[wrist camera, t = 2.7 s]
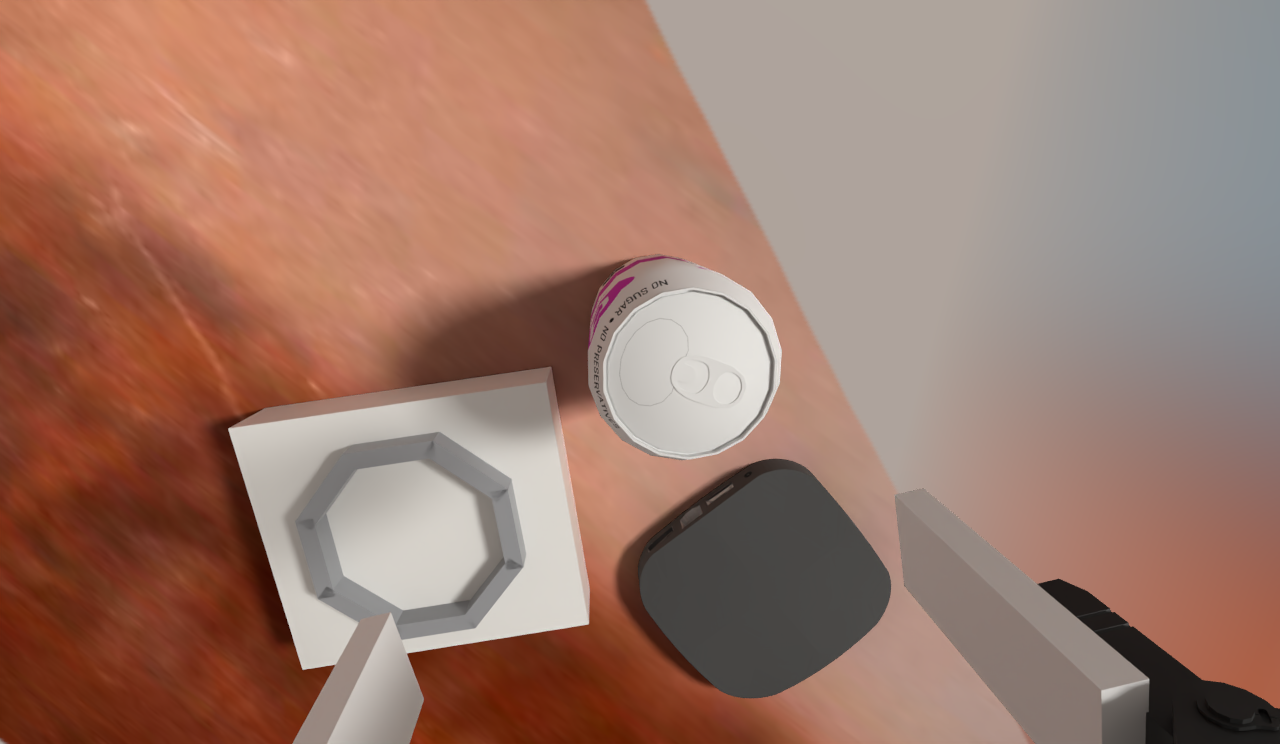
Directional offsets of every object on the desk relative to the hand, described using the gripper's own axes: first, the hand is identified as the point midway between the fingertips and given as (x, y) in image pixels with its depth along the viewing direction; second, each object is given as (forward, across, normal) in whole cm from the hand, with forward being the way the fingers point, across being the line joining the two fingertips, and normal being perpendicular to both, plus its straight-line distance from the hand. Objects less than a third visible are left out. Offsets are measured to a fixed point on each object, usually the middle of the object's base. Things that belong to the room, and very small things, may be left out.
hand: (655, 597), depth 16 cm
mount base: (+24, +14, +7) cm, 29 cm away
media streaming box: (+24, -7, +17) cm, 31 cm away
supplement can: (+25, -3, -2) cm, 25 cm away
